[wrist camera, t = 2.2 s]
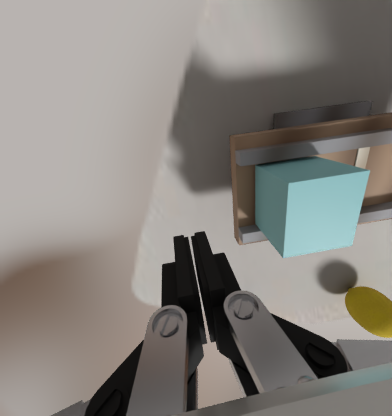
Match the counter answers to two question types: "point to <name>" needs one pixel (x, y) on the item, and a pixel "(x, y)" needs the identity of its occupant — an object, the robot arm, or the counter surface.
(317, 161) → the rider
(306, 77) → the counter surface
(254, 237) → the wooden tray
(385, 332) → the lemon
